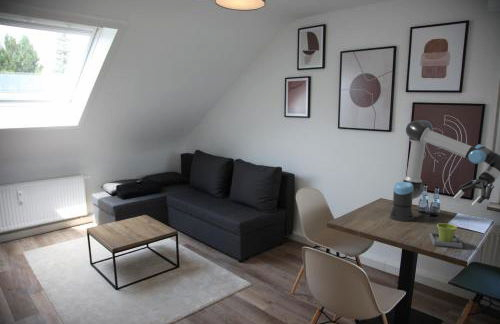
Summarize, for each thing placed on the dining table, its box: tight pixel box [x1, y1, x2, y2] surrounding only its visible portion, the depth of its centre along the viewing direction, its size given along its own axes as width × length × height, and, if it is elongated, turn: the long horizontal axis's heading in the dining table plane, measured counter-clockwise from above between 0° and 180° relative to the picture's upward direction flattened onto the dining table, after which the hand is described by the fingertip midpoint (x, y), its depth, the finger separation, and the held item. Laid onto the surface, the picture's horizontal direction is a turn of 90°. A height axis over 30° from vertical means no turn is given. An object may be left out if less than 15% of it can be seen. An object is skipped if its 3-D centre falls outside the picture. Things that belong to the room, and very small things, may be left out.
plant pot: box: [436, 222, 458, 243], centre depth 187 cm, size 9×9×9 cm
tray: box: [429, 232, 463, 250], centre depth 188 cm, size 13×13×3 cm
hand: (463, 202), depth 198 cm, fingers open, 13 cm apart
